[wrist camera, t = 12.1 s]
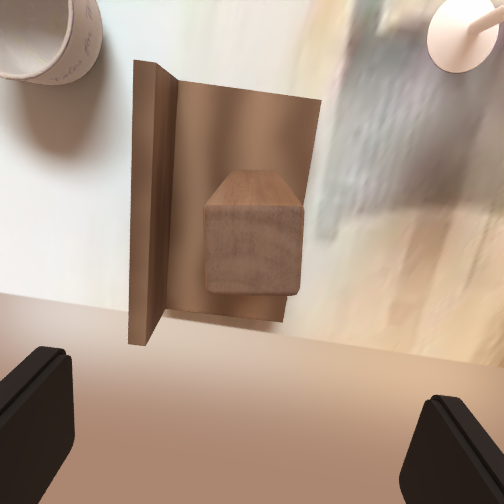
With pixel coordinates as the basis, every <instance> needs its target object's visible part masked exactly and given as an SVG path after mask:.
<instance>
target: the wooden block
mask: <svg viewBox="0 0 504 504" xmlns="http://www.w3.org/2000/svg"><path fill="white" fill-rule="evenodd" d="M303 227H304V209H303V206H302V204H301V203H300V201H299V200H298V198H297V197H296V196H295V194H294V193H293V192H292V190H291V189H290V187H289V186H288V185H287V183H286V182H285V181H284V179H283V178H282V177H281V175H280V174H279V172H278V171H275V170H233V171H231V172H230V173H229V175H228V176H227V177H226V178H225V180H224V181H223V182H222V183H221V185H220V186H219V187H218V188H217V190H216V191H215V192H214V193H213V195H212V196H211V197H210V198H209V200H208V201H207V202H206V203H205V206H204V208H203V228H204V257H205V286H206V289H207V291H208V293H210V294H213V295H271V296H293V295H296V294H297V293H298V291H299V289H300V279H301V262H302V244H303Z"/></svg>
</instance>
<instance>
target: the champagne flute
mask: <svg viewBox="0 0 504 504" xmlns="http://www.w3.org/2000/svg"><path fill="white" fill-rule="evenodd" d="M503 21H504V4H503V5H501V6H499V7H498V8H496V9H495V8H494V6H493V4H492V3H491V2H490V1H489V0H447V1H446V2H445V3H444V4H443V5H442V6H441V7H440V8H439V9H438V10H437V12H436V13H435V15H434V17H433V18H432V20H431V23H430V26H429V29H428V34H427V45H428V51H429V54H430V56H431V58H432V60H433V61H434V63H435V64H436V65H437V66H438V67H439V68H441V69H443V70H444V71H448V72H451V73H461V72H466V71H469V70H471V69H473V68H475V67H476V66H478V65H479V64H480V63H482V62H483V61H484V60H485V59H486V57H487V56H488V55H489V54H490V52H491V51H492V49H493V47H494V45H495V42H496V40H497V36H498V30H499V23H501V22H503Z"/></svg>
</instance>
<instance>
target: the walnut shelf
mask: <svg viewBox="0 0 504 504" xmlns="http://www.w3.org/2000/svg"><path fill="white" fill-rule="evenodd" d="M321 101H322V100H317V99H310V98H302V97H295V96H288V95H281V94H274V93H266V92H259V91H252V90H245V89H238V88H230V87H223V86H216V85H209V84H202V83H194V82H187V81H180V80H177V79H176V78H175V77H174V76H172V75H171V74H170V73H169V72H167V71H166V70H165V69H163V68H162V67H161V66H160V65H158V64H157V63H154V62H147V61H140V60H134V64H133V115H132V167H131V219H130V270H129V322H128V326H129V328H128V344H133V345H140V346H146V344H147V342H148V341H149V339H150V337H151V335H152V333H153V331H154V329H155V327H156V325H157V323H158V322H159V320H160V318H161V316H162V314H163V313H164V311H165V309H174V310H182V311H191V312H199V313H208V314H216V315H224V316H233V317H241V318H250V319H258V320H266V321H275V322H283V318H284V312H285V306H286V301H287V296H271V295H213V294H210V293H208V291H207V289H206V286H205V257H204V228H203V208H204V206H205V203H206V202H207V201H208V200H209V198H210V197H211V196H212V195H213V193H214V192H215V191H216V190H217V188H218V187H219V186H220V185H221V183H222V182H223V181H224V180H225V178H226V177H227V176H228V175H229V173H230V172H231V171H233V170H275V171H278V172H279V174H280V175H281V177H282V178H283V179H284V181H285V182H286V183H287V185H288V186H289V187H290V189H291V190H292V192H293V193H294V194H295V196H296V197H297V198H298V200H299V201H300V203H301V204H302V206H303V203H304V198H305V192H306V186H307V181H308V175H309V169H310V163H311V158H312V152H313V146H314V141H315V135H316V129H317V123H318V118H319V112H320V106H321Z"/></svg>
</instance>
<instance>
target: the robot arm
mask: <svg viewBox="0 0 504 504" xmlns="http://www.w3.org/2000/svg"><path fill="white" fill-rule="evenodd" d="M74 438H75V428H74V403H73V378H72V359H71V356H69V355H66V352H65V350H64V349H61V348H52V347H45V346H40V347H38V348H36V349H35V350H34V351H33V352H32V353H31V354H30V355H29V356H27V357H26V358H25V359H24V360H23V361H22V362H21V363H20V364H19V365H18V366H17V367H16V368H14V369H13V370H12V371H11V372H10V373H9V374H8V375H7V376H6V377H5V378H4V379H3V380H2V381H0V504H38V503H39V501H40V500H41V498H42V496H43V494H44V493H45V492H46V490H47V488H48V487H49V485H50V483H51V482H52V480H53V478H54V477H55V475H56V474H57V472H58V470H59V469H60V467H61V465H62V464H63V462H64V460H65V459H66V457H67V455H68V454H69V452H70V450H71V448H72V446H73V442H74ZM399 484H400V489H401V492H402V495H403V497H404V500H405V502H406V504H504V454H503V453H502V452H501V450H500V449H499V448H498V446H497V445H496V444H495V443H494V441H493V440H492V439H491V437H490V436H489V435H488V434H487V432H486V431H485V430H484V429H483V427H482V426H481V425H480V423H479V422H478V421H477V419H476V418H475V417H474V416H473V414H472V413H471V412H470V410H469V409H468V408H467V407H466V405H465V404H464V403H463V401H462V400H461V399H460V398H457V397H451V396H442V395H433V396H432V397H431V399H430V400H427V401H425V403H424V405H423V408H422V411H421V414H420V417H419V420H418V423H417V426H416V429H415V431H414V434H413V437H412V440H411V443H410V446H409V449H408V452H407V455H406V458H405V460H404V463H403V466H402V469H401V472H400V476H399Z"/></svg>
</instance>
